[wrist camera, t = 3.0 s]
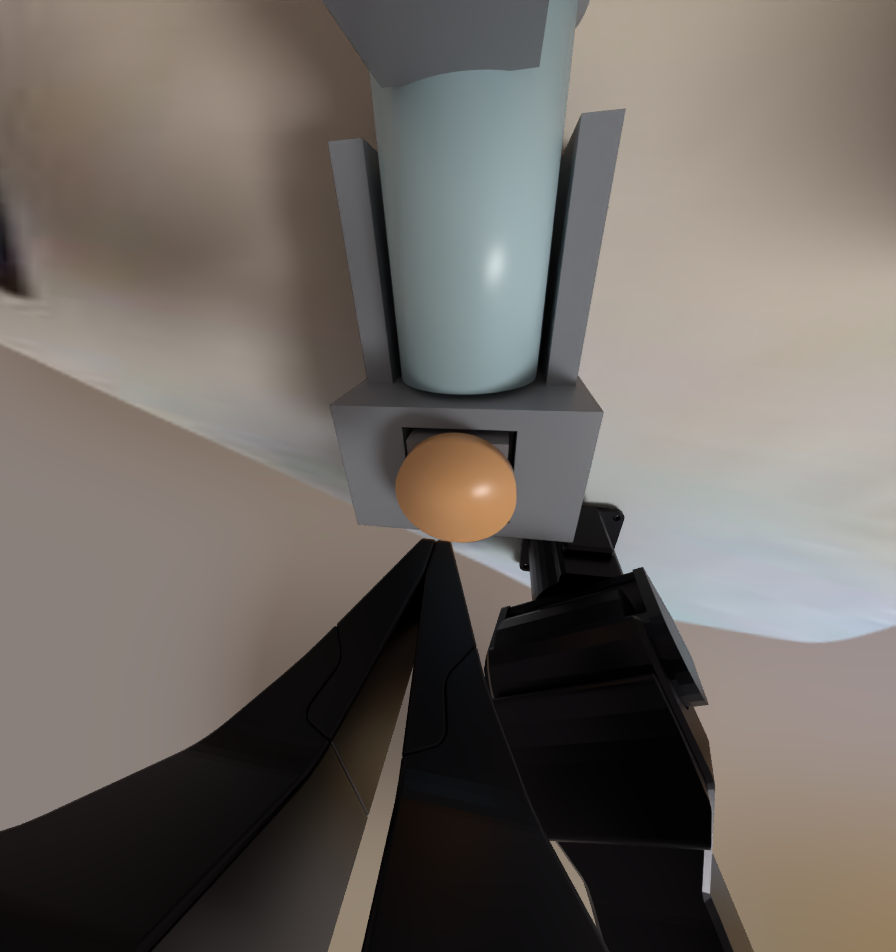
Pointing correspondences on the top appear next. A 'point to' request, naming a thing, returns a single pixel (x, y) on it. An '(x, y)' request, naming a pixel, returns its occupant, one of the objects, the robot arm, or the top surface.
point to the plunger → (457, 483)
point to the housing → (518, 410)
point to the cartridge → (467, 175)
